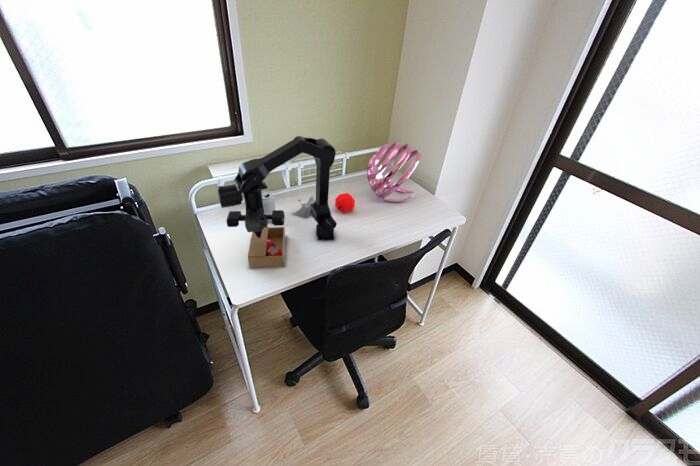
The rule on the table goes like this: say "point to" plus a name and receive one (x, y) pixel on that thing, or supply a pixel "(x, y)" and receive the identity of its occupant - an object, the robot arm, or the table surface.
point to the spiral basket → (386, 180)
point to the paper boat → (305, 208)
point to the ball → (345, 202)
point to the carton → (271, 261)
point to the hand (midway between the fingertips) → (259, 237)
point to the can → (268, 202)
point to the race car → (272, 249)
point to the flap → (258, 244)
